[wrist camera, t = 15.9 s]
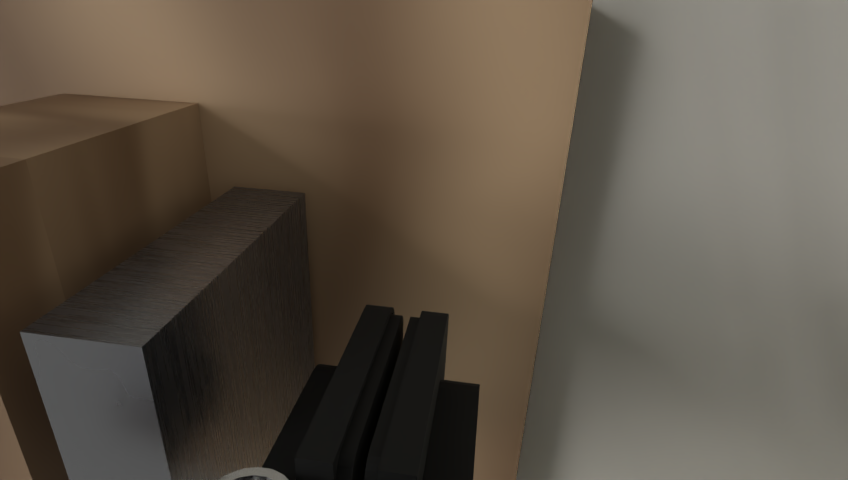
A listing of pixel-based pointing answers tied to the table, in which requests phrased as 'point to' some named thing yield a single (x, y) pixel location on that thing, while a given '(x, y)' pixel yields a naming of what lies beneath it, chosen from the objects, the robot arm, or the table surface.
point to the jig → (295, 167)
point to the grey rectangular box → (184, 347)
